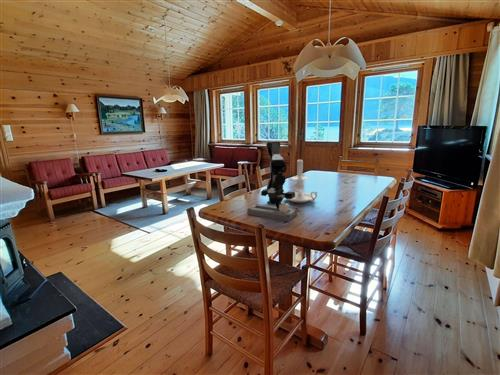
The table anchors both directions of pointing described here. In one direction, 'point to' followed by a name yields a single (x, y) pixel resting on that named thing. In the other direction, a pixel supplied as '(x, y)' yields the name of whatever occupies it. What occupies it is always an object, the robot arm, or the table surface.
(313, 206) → the table surface
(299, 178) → the candlestick
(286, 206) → the fader knob
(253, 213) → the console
